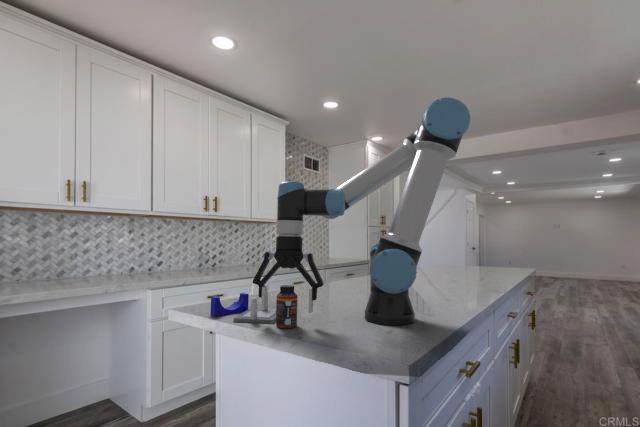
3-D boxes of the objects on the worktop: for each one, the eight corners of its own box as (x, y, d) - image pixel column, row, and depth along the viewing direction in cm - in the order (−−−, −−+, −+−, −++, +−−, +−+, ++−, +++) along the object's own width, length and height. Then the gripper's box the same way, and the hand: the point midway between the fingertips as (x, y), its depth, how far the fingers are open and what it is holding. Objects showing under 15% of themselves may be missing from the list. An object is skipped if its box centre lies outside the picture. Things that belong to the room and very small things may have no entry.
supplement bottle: (293, 329, 93) (294, 287, 94) (272, 328, 95) (273, 286, 95) (299, 324, 99) (299, 284, 100) (279, 323, 100) (280, 284, 101)
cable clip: (241, 309, 119) (241, 292, 119) (248, 311, 116) (248, 293, 116) (208, 314, 111) (208, 296, 111) (214, 317, 108) (215, 298, 108)
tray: (283, 314, 112) (283, 292, 113) (272, 323, 99) (273, 299, 100) (248, 312, 114) (248, 291, 114) (232, 322, 101) (233, 298, 101)
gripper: (333, 236, 101) (332, 310, 100) (252, 234, 104) (249, 305, 103) (331, 236, 93) (329, 316, 92) (243, 234, 97) (240, 310, 95)
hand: (287, 310), depth 97 cm, fingers open, 13 cm apart
